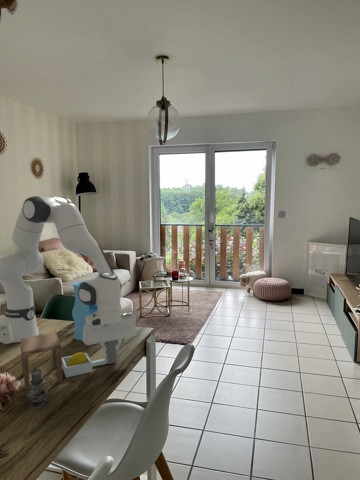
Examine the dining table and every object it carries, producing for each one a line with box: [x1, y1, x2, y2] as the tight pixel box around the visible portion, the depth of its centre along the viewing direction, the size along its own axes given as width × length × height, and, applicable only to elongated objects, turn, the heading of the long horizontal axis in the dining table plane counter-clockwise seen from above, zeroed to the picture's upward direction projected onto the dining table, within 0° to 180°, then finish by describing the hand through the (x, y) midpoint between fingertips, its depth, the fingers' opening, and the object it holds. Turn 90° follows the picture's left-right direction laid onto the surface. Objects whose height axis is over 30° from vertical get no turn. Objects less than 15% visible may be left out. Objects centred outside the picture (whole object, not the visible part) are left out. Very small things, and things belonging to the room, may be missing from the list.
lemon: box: [67, 352, 88, 367], centre depth 133 cm, size 6×6×8 cm
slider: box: [62, 340, 117, 378], centre depth 136 cm, size 19×9×9 cm, turn 116°
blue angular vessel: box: [71, 279, 98, 342], centre depth 164 cm, size 10×10×25 cm
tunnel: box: [20, 332, 64, 391], centre depth 128 cm, size 12×13×13 cm
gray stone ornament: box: [26, 366, 49, 409], centre depth 112 cm, size 6×6×12 cm
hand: (111, 351), depth 139 cm, fingers closed on slider, 3 cm apart
